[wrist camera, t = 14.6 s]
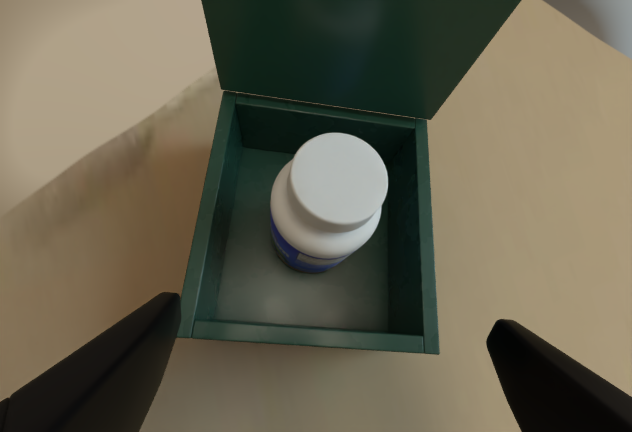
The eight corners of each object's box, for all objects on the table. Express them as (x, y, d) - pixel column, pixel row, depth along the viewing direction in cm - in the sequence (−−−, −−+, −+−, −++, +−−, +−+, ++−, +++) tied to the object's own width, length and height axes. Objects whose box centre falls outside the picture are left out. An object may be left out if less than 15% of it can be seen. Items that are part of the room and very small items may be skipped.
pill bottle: (268, 200, 21) (265, 114, 12) (343, 197, 22) (392, 114, 13) (272, 278, 20) (271, 246, 11) (353, 272, 21) (417, 237, 11)
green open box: (395, 344, 20) (440, 354, 15) (201, 331, 19) (172, 337, 14) (393, 163, 25) (427, 119, 19) (235, 142, 23) (223, 89, 18)
